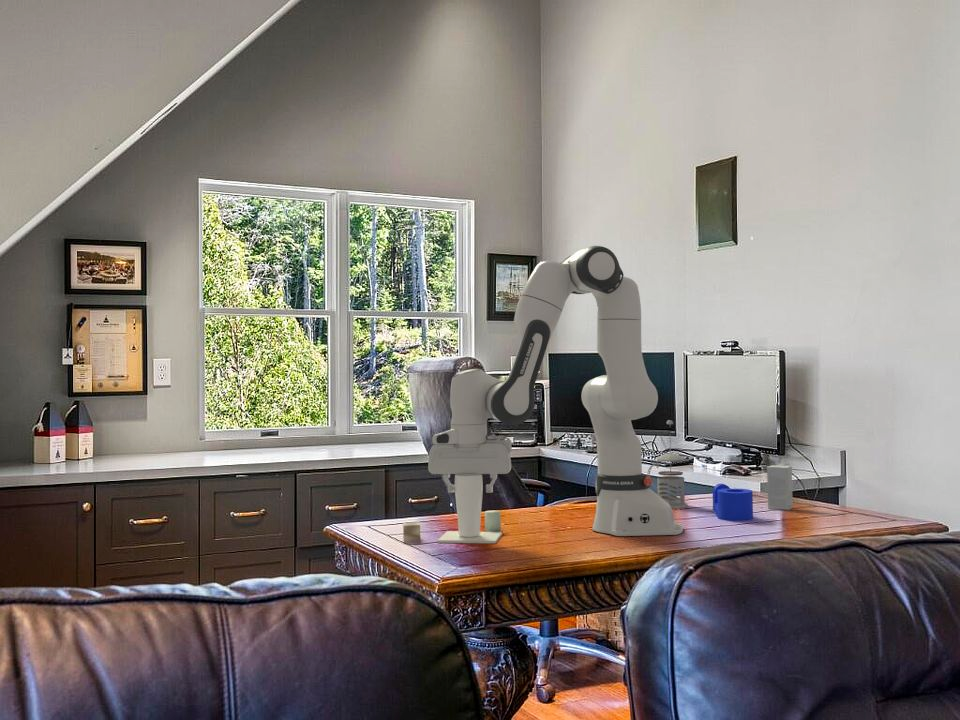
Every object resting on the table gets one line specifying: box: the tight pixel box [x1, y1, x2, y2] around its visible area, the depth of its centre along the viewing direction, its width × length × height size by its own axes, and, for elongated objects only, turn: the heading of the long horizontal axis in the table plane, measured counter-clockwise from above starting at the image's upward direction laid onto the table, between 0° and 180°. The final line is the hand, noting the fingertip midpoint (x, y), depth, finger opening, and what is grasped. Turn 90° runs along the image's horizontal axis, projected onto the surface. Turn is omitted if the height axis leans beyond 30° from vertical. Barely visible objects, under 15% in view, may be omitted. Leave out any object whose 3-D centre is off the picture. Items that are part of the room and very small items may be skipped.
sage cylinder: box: [484, 510, 502, 532], centre depth 242 cm, size 4×4×5 cm
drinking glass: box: [454, 474, 484, 537], centre depth 233 cm, size 7×7×15 cm
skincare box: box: [766, 464, 794, 511], centre depth 270 cm, size 6×4×12 cm
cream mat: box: [437, 530, 503, 544], centre depth 233 cm, size 14×12×1 cm
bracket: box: [712, 483, 754, 522], centre depth 261 cm, size 20×9×8 cm, turn 0°
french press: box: [647, 419, 689, 509], centre depth 279 cm, size 10×12×25 cm
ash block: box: [402, 521, 421, 543], centre depth 232 cm, size 4×4×4 cm
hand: (470, 492), depth 233 cm, fingers open, 8 cm apart
